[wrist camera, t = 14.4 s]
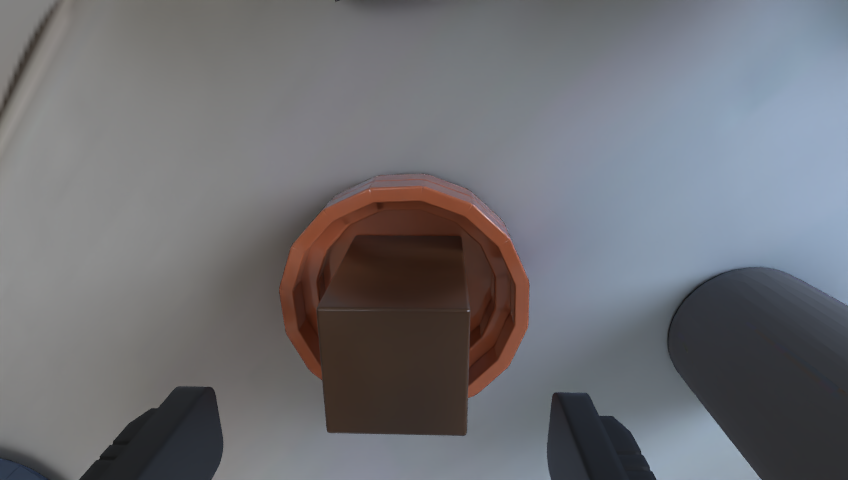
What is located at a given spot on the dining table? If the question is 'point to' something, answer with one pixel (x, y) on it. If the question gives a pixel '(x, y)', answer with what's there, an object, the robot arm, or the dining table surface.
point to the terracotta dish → (413, 216)
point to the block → (396, 337)
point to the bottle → (769, 370)
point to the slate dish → (17, 471)
